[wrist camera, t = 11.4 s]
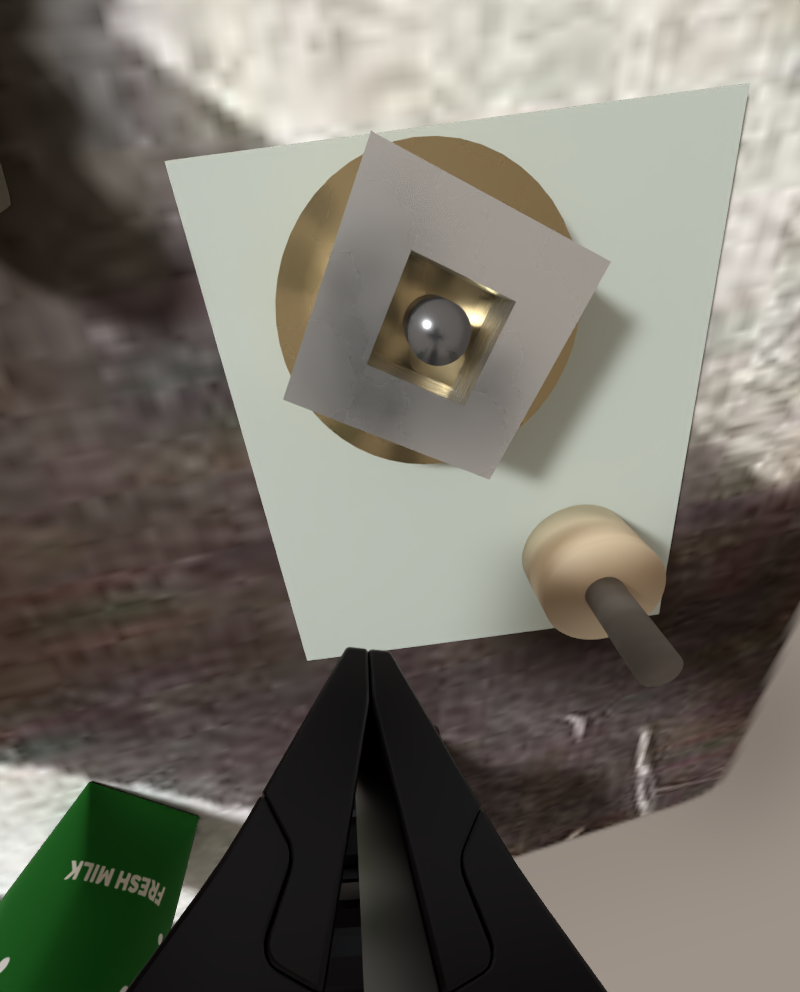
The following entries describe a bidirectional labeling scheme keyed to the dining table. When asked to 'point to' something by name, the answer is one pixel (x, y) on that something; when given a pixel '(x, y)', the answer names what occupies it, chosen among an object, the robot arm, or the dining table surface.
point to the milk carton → (95, 895)
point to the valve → (3, 192)
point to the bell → (411, 280)
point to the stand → (602, 586)
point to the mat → (546, 435)
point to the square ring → (467, 255)
